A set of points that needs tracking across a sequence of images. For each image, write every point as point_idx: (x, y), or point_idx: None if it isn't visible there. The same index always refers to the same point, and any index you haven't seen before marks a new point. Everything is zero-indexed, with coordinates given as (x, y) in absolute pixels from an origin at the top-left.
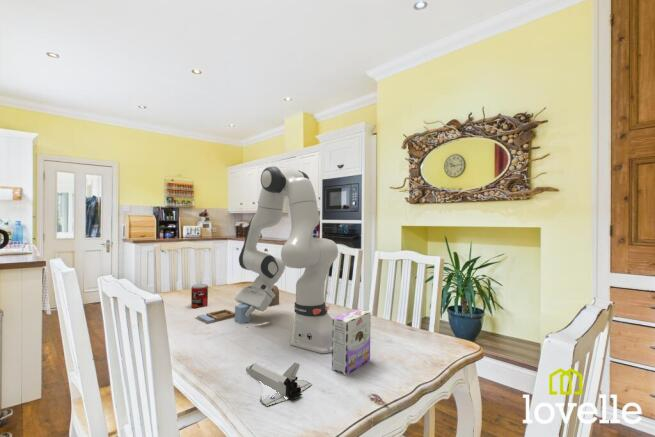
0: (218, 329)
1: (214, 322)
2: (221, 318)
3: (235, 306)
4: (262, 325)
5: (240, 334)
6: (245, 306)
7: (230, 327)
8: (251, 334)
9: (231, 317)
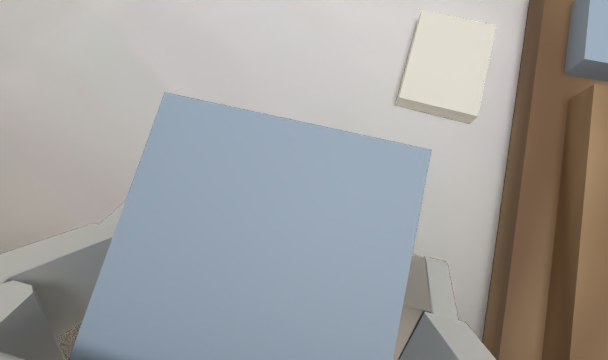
0: (381, 18)
1: (537, 55)
2: (573, 157)
3: (408, 149)
4: (64, 347)
5: (115, 37)
6: (142, 259)
7: (326, 113)
8: (27, 86)
9: (541, 303)
